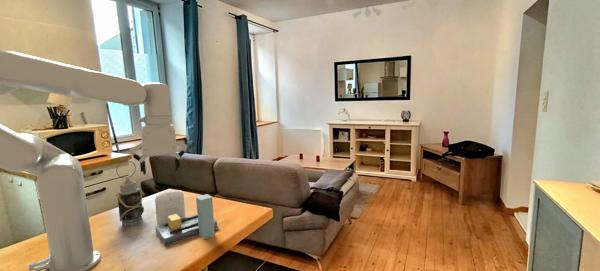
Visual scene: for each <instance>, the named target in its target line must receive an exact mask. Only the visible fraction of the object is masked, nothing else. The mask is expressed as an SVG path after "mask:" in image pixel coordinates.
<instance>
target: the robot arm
mask: <svg viewBox="0 0 600 271" xmlns="http://www.w3.org/2000/svg"><path fill="white" fill-rule="evenodd" d="M18 89H26V90H31V91H38V92H43V93H49V94H53V95H59V96H63V97H71V98H77V99H78V98H79V99H81V98H83V99H91V100H99V101H102V102H103V101H104V102H109V103H114V104H118V105H123V106H128V107H129V106H131V107H135V106H136V107H137V106H139V105H143V113H144V116H142V117H140V118H139V123H143V124H144V125H142V127H141V143H138V144H136V145H135V146H133V147H131V148H129V149H128V151H129V153H130V155H131V156H132V157H133V159H135V160H137V161H138V162H139V164H140V166H139V167H140V168H139V169H140V173H142V174H143V176H144V175H147V171H146V168H147V167H146V161H145V160H146V159H147V158H149V157H163V156H172V155H173V156H174V158H173V160H174V161H173V164H174V170H175V172H178V171H179V169H180V167H181V166H180V165H181V164H180V163H181V162H180V159H181V158H182V157H183V155H185V152H186V151H187V149H188V145H187V144H185V143H182V142H179V141H177V138H176V131H175V127H174V124H171V122H172V121H171V109H170V108H171V107H170V105H171V104H170V88H169V86H168V84H167V83H162V82H146V83H141V82H139V81H137V80H134V79H130V78H126V77H122V76H119V75H118V76H117V75H113V74H110V73H106V72H100V71H95V70H90V69H87V68H83V67H79V66H76V65H75V66H74V65H70V64H65V63H61V62H58V61H53V60H49V59H45V58H40V57H38V56H33V55H28V54H24V53H20V52H16V51H11V50H0V97H2V96H4V95H7V94H10V93H12V92H14V91H16V90H18ZM177 147H180V148H181V150H180V151H179V152H177ZM140 149H141V153H142V154H141V156H140V155H139V154H137V152H136V151H138V150H140ZM0 169H2V170H3V171H6V172H12V173H21V172H26V173H27V174H30V175H32V176H34V177H36V189H37V193H38V197H39V201H40V206H41V211H42V217H43V221H44V228H45V232H46V239H47V244H48V252H49V254H48V257H45V258H44V259H43V260H40V261H35V262H31V263H28V270H29V271H88V270H90V269H92V268H93V267H94V266H95V265H97V264H98V263H99V262H100V260H101V252H100V251H98V250H94V246H93V245H94V244H93V238H92V232H91V231H92V230H91V224H90V223H91V222H90V218H89V217H90V215H89V210H88V203H87V197H86V189H85V178H84V173H83V172H84V170H83V168H82V164H81V162H80V161H79V160H78V159H77V158H76V157H75V156H72V155H71V154H69V153H67V152H66V151H64V150H63V149H60V148H58V147H56V146H55V145H53V144H52V143H50V142H48V141H46V140H45V139H42V138H41V137H38V136H36V135H34V134H31V133H27V132H17V131H15V130H12V129H10V128H8V127H7V126H5V125H3V124H1V123H0Z"/></svg>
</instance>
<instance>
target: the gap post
mask: <svg viewBox="0 0 600 271" xmlns="http://www.w3.org/2000/svg"><path fill="white" fill-rule="evenodd" d="M195 198H196V199H195V200H196V211H197V212H196V214H198V226H199V235H198V236H200V238H201V239H202V240H206V239H208V238H211V237H215V236H216V234H215V229H214V220H215V218H214V217H215V216H214V208H213V207H214V205H213V196H211V195H210V194H209V193H208V194H202V195H199V196H196V197H195Z"/></svg>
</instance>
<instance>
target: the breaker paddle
mask: <svg viewBox="0 0 600 271" xmlns="http://www.w3.org/2000/svg"><path fill="white" fill-rule="evenodd" d="M168 226H169V227H170V228H171V229H172V230H175V229H179V228H182V226H181V218H180V217H179V216H178V215H177V214H174V215H170V216H168Z"/></svg>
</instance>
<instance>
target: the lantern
mask: <svg viewBox="0 0 600 271" xmlns="http://www.w3.org/2000/svg"><path fill="white" fill-rule="evenodd" d="M124 162H130V163H132V164H133V166H134V172H133V173H132V174H131V175H130V176H126V177H125V179H124V177H123V176H120V175H119V173H118V169H119V168H118V167H119V166H120V164H122V163H124ZM116 166H117V167H116V171H115V172H116V174H117V176H118V177H119V178H121V179H124V180H123V181H122V182H120V183H119V185H118V186H119V190H117V192H116V193H115V196H117V204H118V216H119V221H120V222H121V225H122V227H124V228H133V227H135V226H138V225H140V224H142V222H143V214H144V211H145V207H144V206H143V193H142V191H141V189H140V187H138V186H137V181H135V180H132V179H130V178H131V177H132V176H134V175H135V173H136V171H137V169H136V165H135V163H134V162H133V161H132V160H128V159H127V160H124V161H121V162H120V163H119V164H117V165H116Z"/></svg>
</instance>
